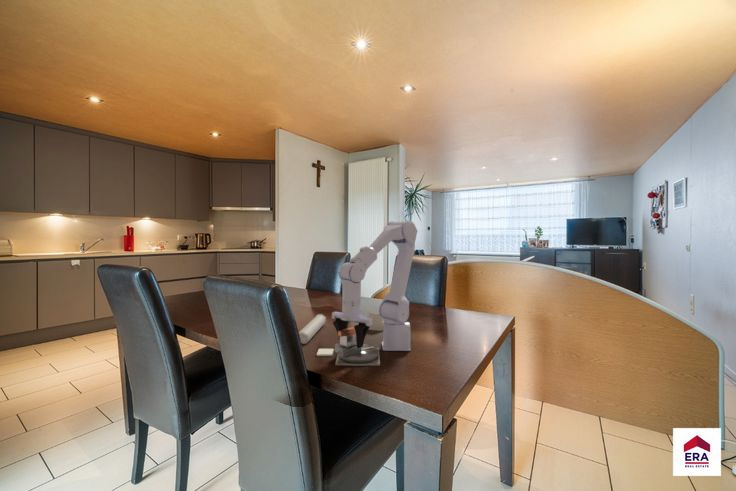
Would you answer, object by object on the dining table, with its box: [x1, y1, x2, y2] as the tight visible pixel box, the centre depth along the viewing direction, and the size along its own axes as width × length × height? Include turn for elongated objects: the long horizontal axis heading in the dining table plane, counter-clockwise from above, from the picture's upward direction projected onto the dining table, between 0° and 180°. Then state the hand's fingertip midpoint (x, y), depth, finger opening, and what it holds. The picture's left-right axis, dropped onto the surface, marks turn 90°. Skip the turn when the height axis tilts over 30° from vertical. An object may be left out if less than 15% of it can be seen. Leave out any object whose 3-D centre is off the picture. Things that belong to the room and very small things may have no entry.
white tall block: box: [337, 326, 356, 349], centre depth 98 cm, size 6×3×8 cm, turn 133°
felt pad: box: [316, 348, 335, 357], centre depth 104 cm, size 5×5×1 cm
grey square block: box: [368, 312, 383, 332], centre depth 131 cm, size 3×7×7 cm, turn 77°
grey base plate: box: [334, 342, 380, 363], centre depth 101 cm, size 13×13×4 cm
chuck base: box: [335, 347, 381, 367], centre depth 101 cm, size 13×13×1 cm
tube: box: [298, 313, 327, 345], centre depth 124 cm, size 5×5×25 cm
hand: (351, 344), depth 98 cm, fingers open, 6 cm apart
